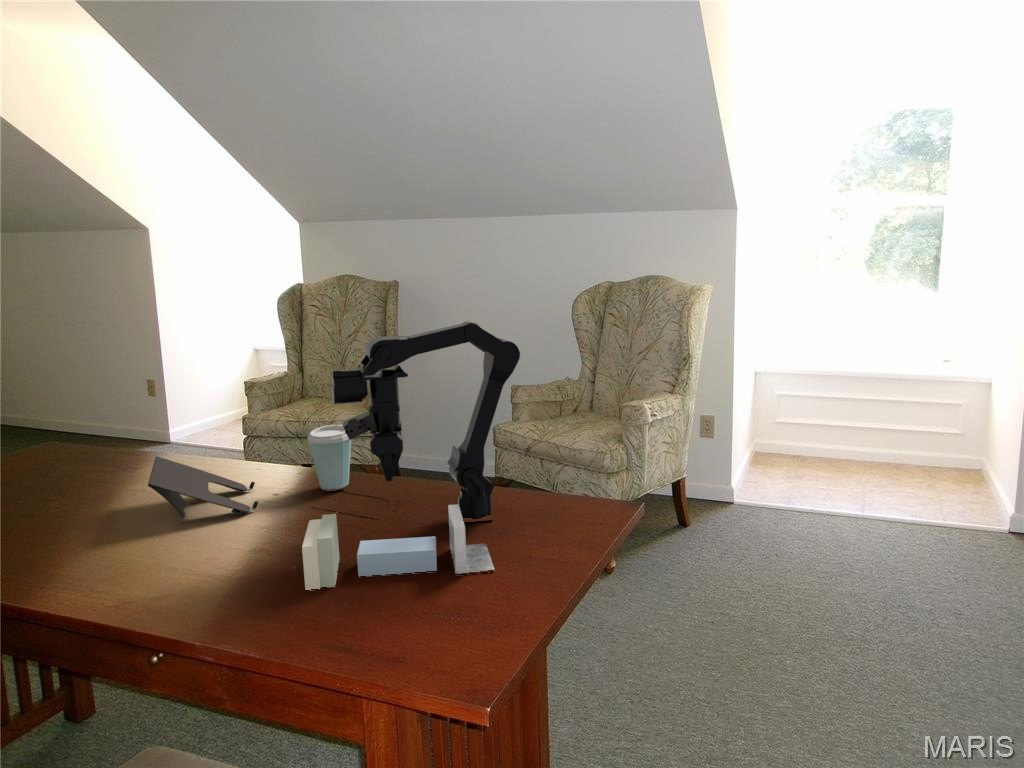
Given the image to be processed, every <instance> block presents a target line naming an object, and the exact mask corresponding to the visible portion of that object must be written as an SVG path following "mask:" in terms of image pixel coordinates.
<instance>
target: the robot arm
mask: <svg viewBox="0 0 1024 768" xmlns="http://www.w3.org/2000/svg"><path fill="white" fill-rule="evenodd" d="M467 343H469V344H471V345H472V346H474V347H475V348H476V349H478V350H480V351H481V352H482V353H484V354H483V363H482V364H483V365H482V367H483V369H482V370H483V378H482V382H481V385H480V389H479V392H478V394H477V399H476V401H475V404H474V408H473V410H472V414H471V418H470V421H469V424H468V428H467V430H466V434H465V438H464V439H463V441H462V443H461V444H460V445H459V447H458V446H455V445H452V447H451V454H450V457H449V459H448V461H447V462H446V463H447V464H448V471H449V474H450V475H451V477H452V479H454V481H455V482H456V483H457V484H458V486H460V492H459V493H460V495H457V504H459V507H460V511H461V514H462V518H472V519H479V518H482V517H485V516H487V515H492V496H491V495H492V493H493V489H494V487H495V486H494V484H493V483H492V482H491V481H490V480H489V479H488V478H487V477H486V476H485V475H484V469H485V447H486V443H487V439H488V436H489V434H490V430H491V427H492V423H493V420H494V418H495V413H496V411H497V407H498V404H499V401H500V398H501V394H502V391H503V388H504V385H505V383H507V381H508V379H510V377H511V376H512V374H513V373H514V371H515V369H516V367H517V365H518V363H519V361H520V358H521V351H520V348H519V347H518V345H517V344H516V343H514V342H512V341H510V340H508V339H505V338H500V337H496V336H495V335H493V334H491V333H490V332H488V331H487V330H485V329H483V328H482V327H481V326H480V325H479V324H478V323H475V322H472V321H469V320H468V321H463V322H462V323H459V324H455V325H451V326H446V327H442V328H438V329H434V330H428V331H425V332H420V333H415V334H412V335H386V336H376V337H374V338H372V339H370V340H369V342H368V343H367V345H366V348H365V355H364V357H363V358H362V360H361V361H360V363H359V364H358V366H357V367H356V368H351V369H332V370H331V384H330V392H331V399H332V404H333V405H339V404H340V405H343V404H355V403H362V402H363V401H364V400H365V399H366V397H368V395H370V396H369V399H370V404H369V409H368V411H366V412H363V413H360V414H358V415H356V416H353V417H350V418H348V419H346V420H344V421H343V423H342V425H343V427H344V430H345V433H346V434H347V436H348V438H349V439H351V440H354V439H356V437H358V436H360V435H363V434H365V433H367V432H369V431H370V435H371V434H372V436H371V438H370V442H369V443H370V445H369V447H370V452H371V454H372V455H374V456H376V457H377V458H378V459H379V460H380V464H381V466H382V470H383V475H384V478H385V480H386V482H392V481H393V478H394V476H395V473H396V470H397V467H398V465H399V463H400V459H401V456H402V454H403V451H404V441H403V436H402V432H403V430H402V429H403V428H402V420H401V411H400V409H401V407H400V394H399V393H400V392H399V378H408V376H409V374H408V373H407V372H406V371H405V370H404V369H402V366H401V365H400V364H401V363H403V362H406V361H407V360H409V359H410V358H412V357H414V356H417V355H421V354H425V353H429V352H433V351H437V350H443V349H445V348H450V347H454V346H458V345H463V344H467ZM392 367H393V368H392ZM368 381H369V382H368ZM368 383H369V392H368ZM368 393H369V394H368Z"/></svg>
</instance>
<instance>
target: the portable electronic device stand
mask: <svg viewBox="0 0 1024 768" xmlns="http://www.w3.org/2000/svg"><path fill="white" fill-rule="evenodd" d="M209 483H211V484H216V485H218V486H222V487H225V488H227V489H231V490H234V491H238V492H240V491H241V493H244V492H243V491H250V490H253V489H254V487H255V484H256V482H255V481H251V482H250V485H249V487H247V486H246V485H244V484H243V483H241V482H238V481H236V480H235V481H234V480H232V479H228V478H226V477H223V476H220V475H217V474H215V473H211V472H208V471H205V470H202V469H200V468H196V467H192V466H190V465H186V464H183V463H180V462H176V461H173V460H169V459H168V458H167V459H166V458H163V457H160V456H155V457H154V461H153V465H152V467H151V472H150V475H149V478H148V483H147V486H148V487H149V488H151V489H152V490H154V491H155V492H156V493H158V494H159V495H160V496H161V497H163V499H165V500H166V501H167V502H168V503H169V504H170V505H171V506H172V507H173V508H174V509H175V510H176V511H177V512H178V513H179V514H180V515H181V516H182V517H183V518H184V517H185V518H186V514H185V508H186V506H187V505H186V503H187V500H185V499H184V498H183V496H186V497H190V498H191V499H192V498H193V499H195V500H199V501H203V502H206V503H210V504H212V505H213V504H214V505H217V506H221V507H224V508H229V509H231V511H230V513H232V514H234V515H236V516H237V515H238V516H242V513H245V512H252V511H254V512H255V511H256V509H257V507H258V504H259V503H260V502H259V501H258V500H255V501H254V502H253V505H252V507H251V506H249V505H247V504H246V503H243V502H240V501H236V500H233V499H230V498H228V497H224V496H222V495H219V494H216V493H213V492H211V491H210V489H209Z"/></svg>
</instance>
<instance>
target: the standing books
mask: <svg viewBox="0 0 1024 768" xmlns="http://www.w3.org/2000/svg"><path fill="white" fill-rule="evenodd" d="M337 518H338V517H337V513H331V514H330V513H329V514H322V515H321V518H319V519H318V518H317V519H310V520H309V521H308V525H307V528H306V531H305V535H304V539H303V542H302V546H301V551H302V554H301V555H302V562H303V563H302V565H303V566H302V567H303V577H304V588H305V589H304V590H309V591H312V590H311V589H319V590H321V589H322V588H321V587H327V588H336V586H335V585H337V584H336V583H337V577H338V572H337V571H338V570H339V565H338V564H340V550H339V549H340V548H339V535H338V531H339V530H338V521H337V520H338V519H337ZM320 588H321V589H320Z"/></svg>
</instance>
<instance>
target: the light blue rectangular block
mask: <svg viewBox="0 0 1024 768" xmlns="http://www.w3.org/2000/svg"><path fill="white" fill-rule="evenodd" d="M437 554H438V553H437V537H436V536H433V535H432V536H422V537H421V536H418V537H417V536H416V537H404V538H403V537H402V538H386V539H383V538H382V539H371V540H360V541H359V545H358V549H357V554H356V561H357V562H356V563H357V574H358V575H357V576H359V577H358V578H361V577H360V576H366V577H373V576H372V575H381V576H387V575H386V574H389V575H388V576H391V575H390V574H397V575H403V574H402V573H412V574H415V573H414V572H426V571H438V567H437V566H438V563H437V562H438V557H437V556H438V555H437Z"/></svg>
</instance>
